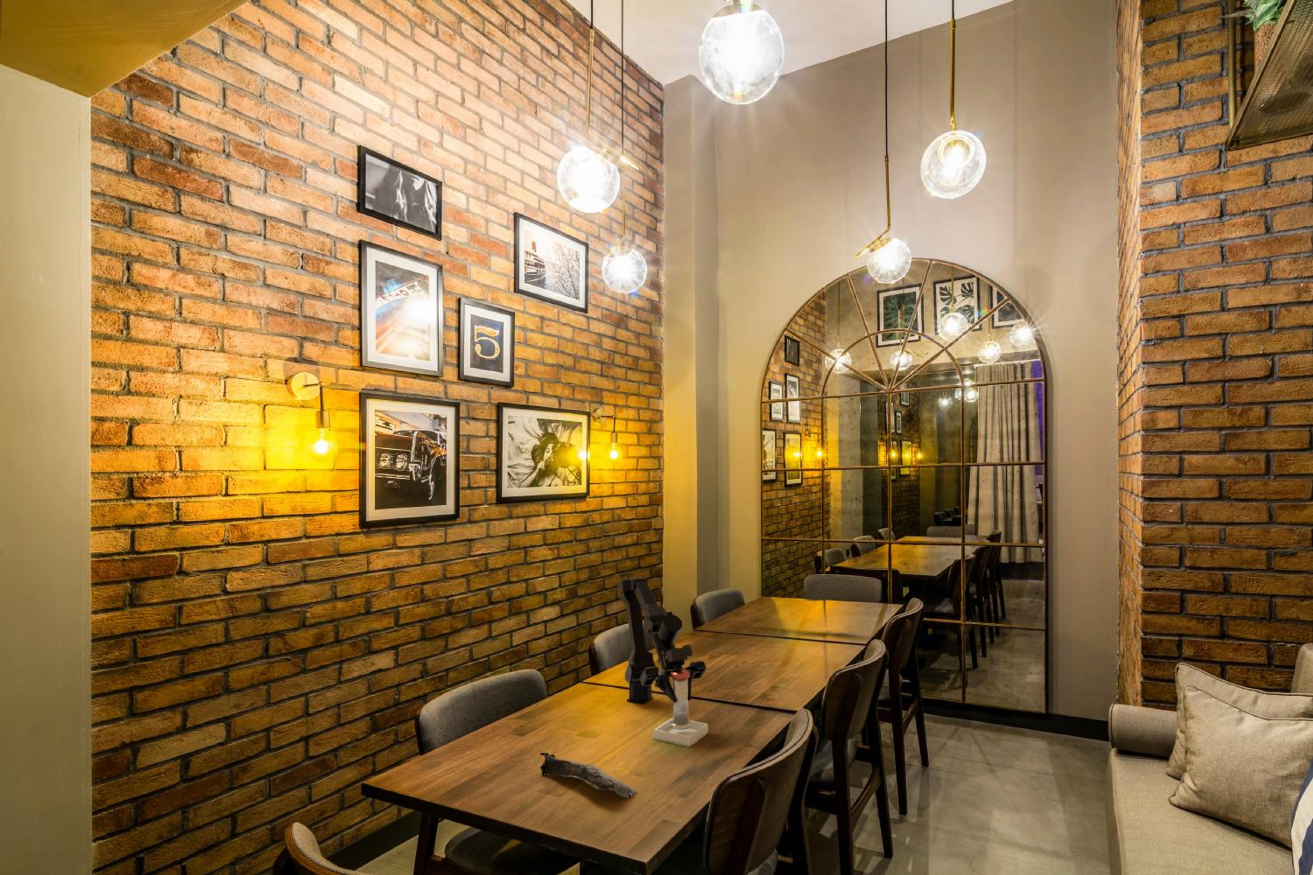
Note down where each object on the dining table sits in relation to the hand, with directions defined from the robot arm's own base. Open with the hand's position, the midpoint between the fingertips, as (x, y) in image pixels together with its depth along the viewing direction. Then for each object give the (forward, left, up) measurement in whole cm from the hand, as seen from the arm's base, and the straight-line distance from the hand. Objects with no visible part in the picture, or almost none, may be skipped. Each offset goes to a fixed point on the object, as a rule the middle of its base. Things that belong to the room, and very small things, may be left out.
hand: (682, 700), depth 184 cm
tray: (-1, +1, -10) cm, 10 cm away
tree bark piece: (-7, -35, -10) cm, 37 cm away
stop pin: (-1, +1, -7) cm, 7 cm away
